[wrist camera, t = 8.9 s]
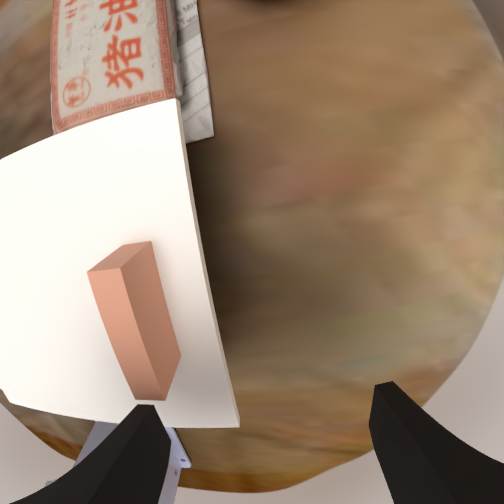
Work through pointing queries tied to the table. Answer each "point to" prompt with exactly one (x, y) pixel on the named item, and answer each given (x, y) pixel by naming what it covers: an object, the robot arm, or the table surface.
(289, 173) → the table surface
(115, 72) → the packaged product
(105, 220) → the carton lid
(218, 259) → the table surface
